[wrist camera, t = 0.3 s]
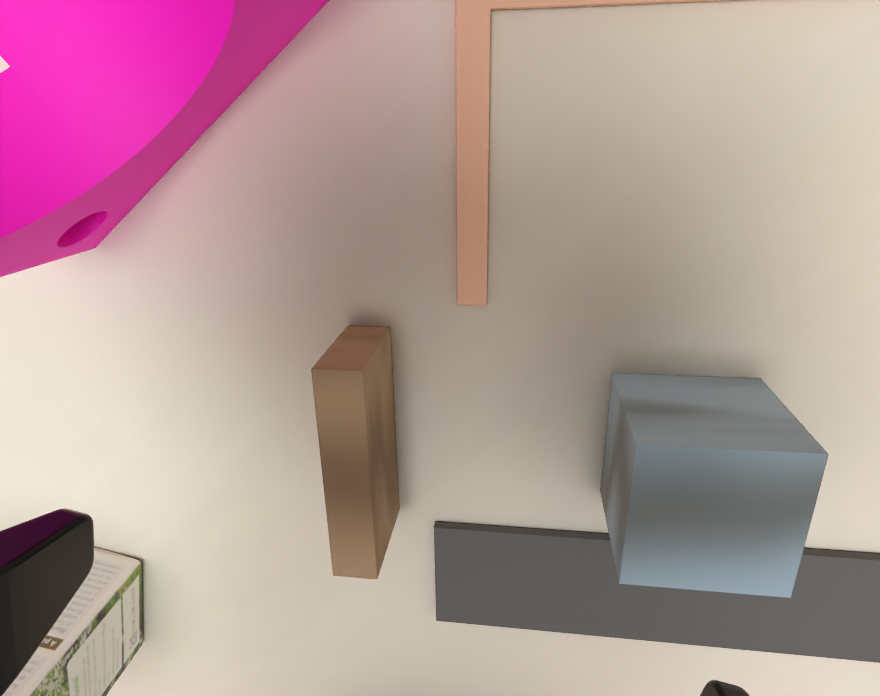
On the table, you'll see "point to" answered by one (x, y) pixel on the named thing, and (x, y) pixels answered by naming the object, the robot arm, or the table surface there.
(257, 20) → the toy block
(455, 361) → the table surface
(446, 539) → the grey flat board
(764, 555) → the cube
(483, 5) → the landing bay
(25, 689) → the syrup box
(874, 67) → the table surface
